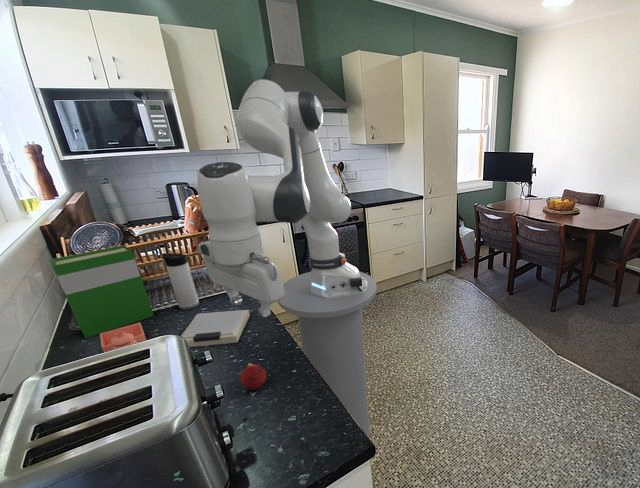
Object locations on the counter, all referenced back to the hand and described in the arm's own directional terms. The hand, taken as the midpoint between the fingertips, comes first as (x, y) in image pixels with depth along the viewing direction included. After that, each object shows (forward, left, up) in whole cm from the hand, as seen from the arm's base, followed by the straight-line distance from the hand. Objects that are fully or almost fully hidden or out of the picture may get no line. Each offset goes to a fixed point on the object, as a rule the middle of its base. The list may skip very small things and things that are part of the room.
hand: (250, 309), depth 74 cm
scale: (+22, -35, -26) cm, 49 cm away
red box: (+43, -27, -26) cm, 57 cm away
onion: (+4, -5, -26) cm, 27 cm away
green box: (+55, -46, -26) cm, 77 cm away
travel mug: (+37, -54, -26) cm, 71 cm away
